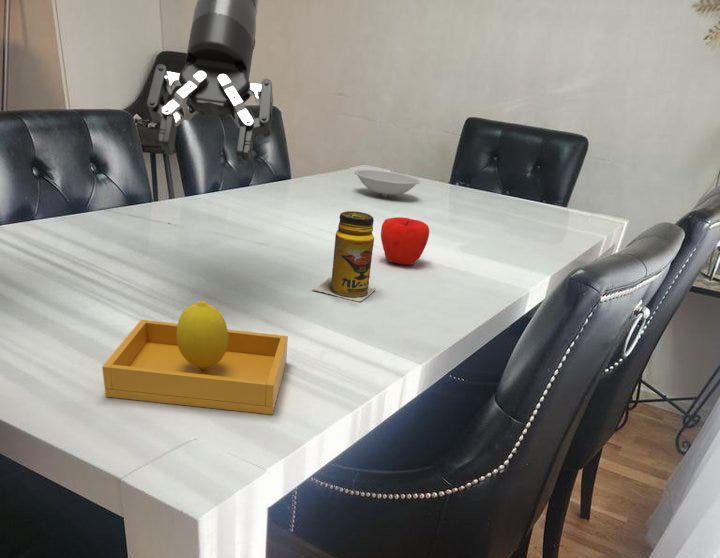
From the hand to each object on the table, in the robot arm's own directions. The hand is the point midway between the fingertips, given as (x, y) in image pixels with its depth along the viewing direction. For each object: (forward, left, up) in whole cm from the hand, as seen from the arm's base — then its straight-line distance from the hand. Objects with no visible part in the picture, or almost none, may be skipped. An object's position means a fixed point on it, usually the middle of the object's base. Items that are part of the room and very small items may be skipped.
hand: (204, 155), depth 76 cm
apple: (+28, +41, -21) cm, 54 cm away
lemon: (+3, -16, -20) cm, 26 cm away
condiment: (+18, +21, -21) cm, 35 cm away
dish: (+26, +103, -21) cm, 108 cm away
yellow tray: (+3, -16, -21) cm, 26 cm away
